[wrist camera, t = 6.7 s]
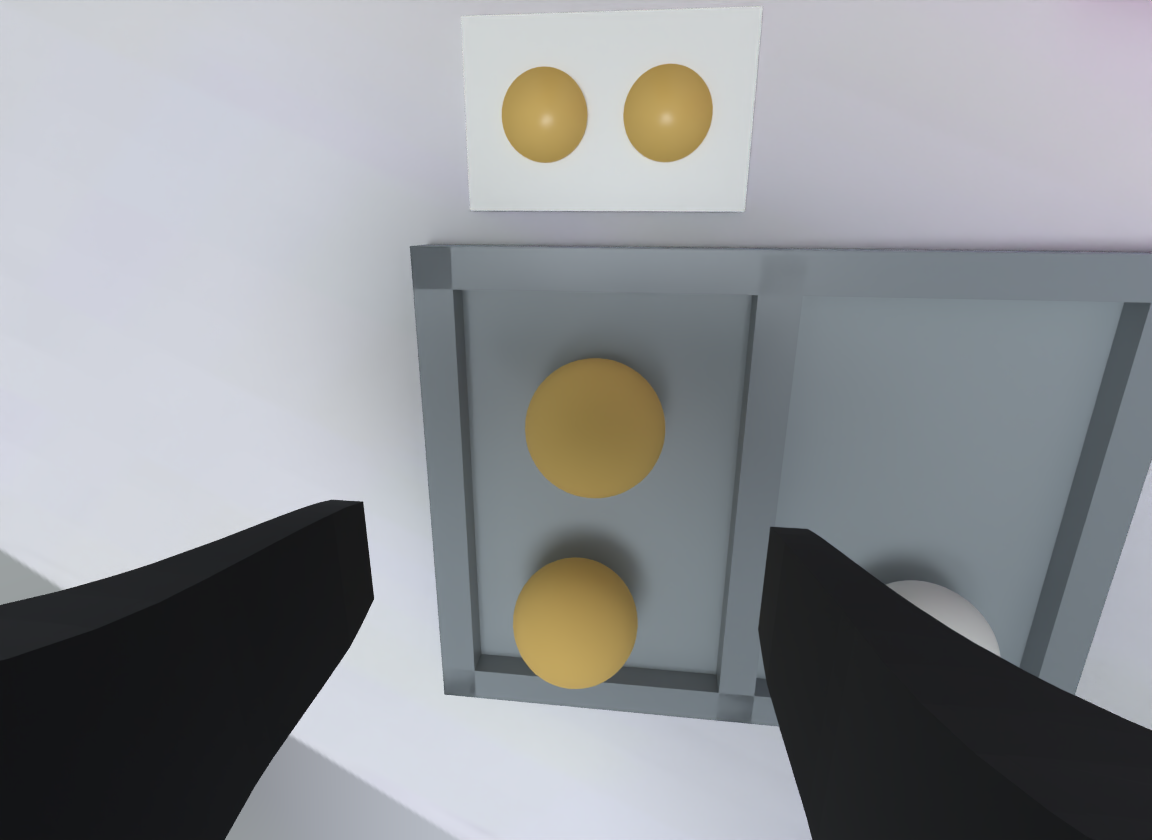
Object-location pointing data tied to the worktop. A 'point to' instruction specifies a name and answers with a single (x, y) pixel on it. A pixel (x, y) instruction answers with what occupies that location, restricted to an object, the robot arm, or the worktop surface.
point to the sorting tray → (786, 445)
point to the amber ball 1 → (595, 428)
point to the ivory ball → (949, 610)
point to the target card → (610, 109)
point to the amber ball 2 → (575, 623)
